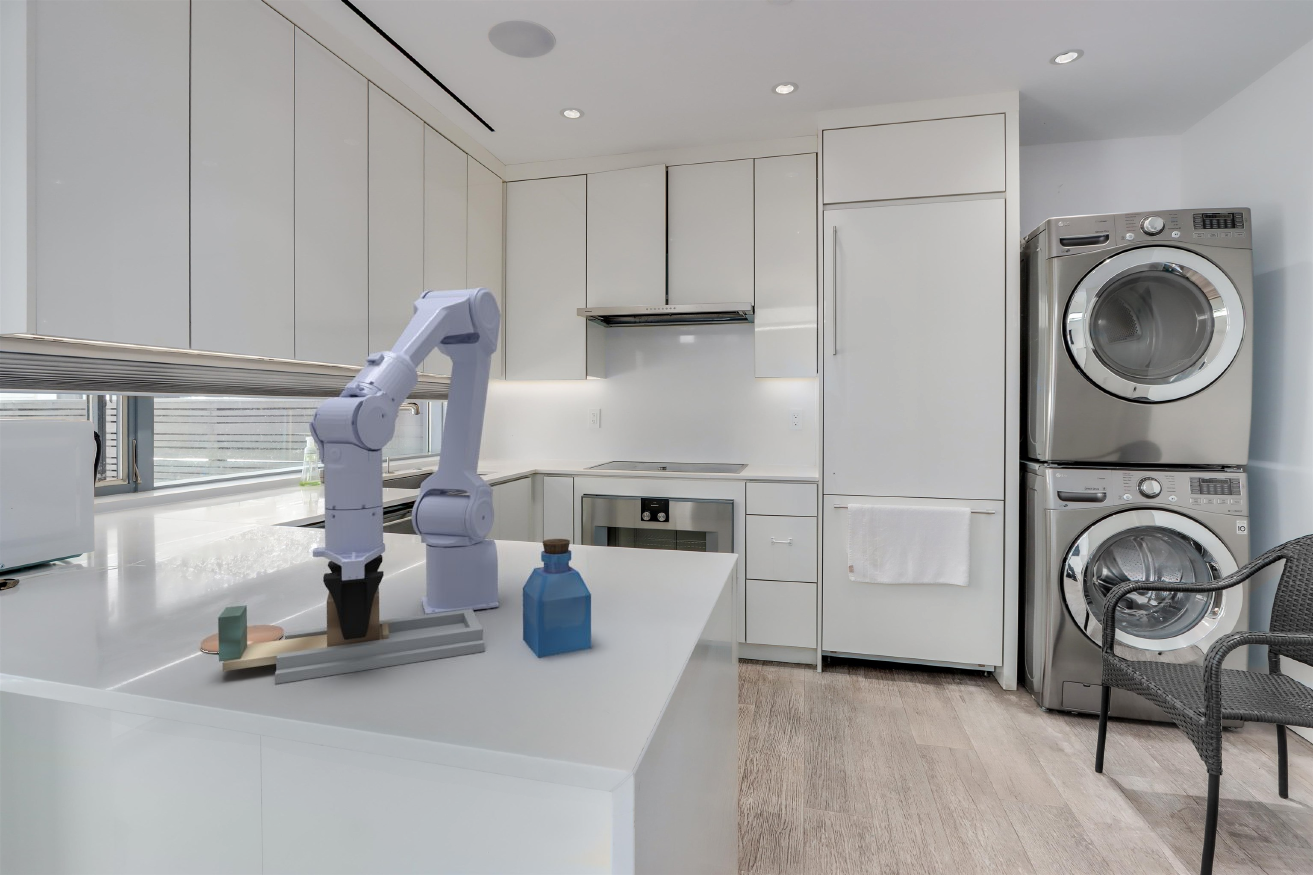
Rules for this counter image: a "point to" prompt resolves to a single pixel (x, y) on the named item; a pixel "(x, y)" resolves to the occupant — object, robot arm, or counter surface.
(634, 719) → the counter surface
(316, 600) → the counter surface
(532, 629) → the perfume bottle
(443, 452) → the robot arm
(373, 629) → the walnut block
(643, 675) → the counter surface
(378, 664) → the lane board
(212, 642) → the coaster
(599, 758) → the counter surface
